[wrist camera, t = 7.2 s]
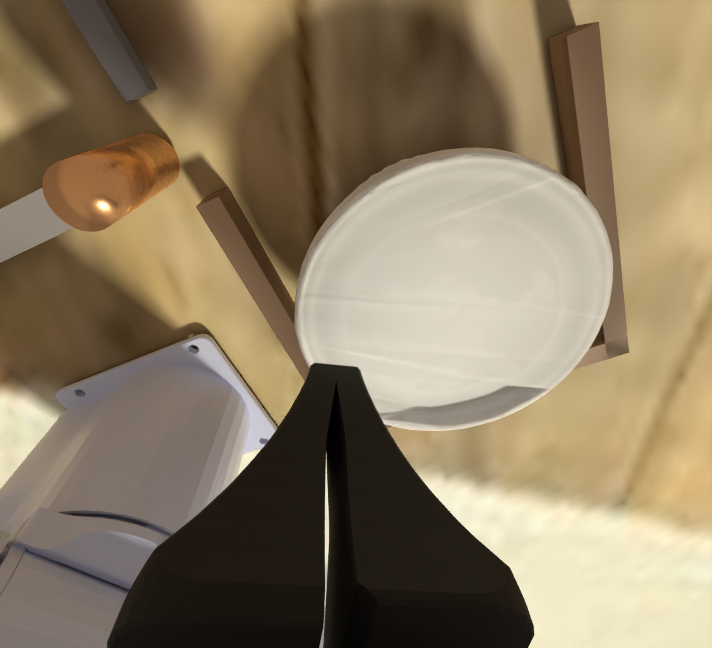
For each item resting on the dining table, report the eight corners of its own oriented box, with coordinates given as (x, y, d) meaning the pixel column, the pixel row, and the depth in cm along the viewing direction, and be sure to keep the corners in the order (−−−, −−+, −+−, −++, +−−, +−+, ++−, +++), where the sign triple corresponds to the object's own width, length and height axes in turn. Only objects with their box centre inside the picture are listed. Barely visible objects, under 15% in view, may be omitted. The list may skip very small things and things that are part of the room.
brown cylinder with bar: (-45, 287, 19) (-167, 356, 14) (-84, 248, 18) (-228, 309, 13) (190, 175, 17) (133, 215, 12) (159, 123, 16) (83, 147, 11)
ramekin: (350, 383, 23) (351, 460, 18) (263, 184, 17) (234, 225, 13) (559, 326, 21) (617, 396, 17) (538, 86, 16) (616, 93, 11)
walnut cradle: (342, 422, 24) (342, 441, 23) (206, 196, 17) (195, 206, 16) (612, 335, 21) (628, 352, 20) (576, 25, 15) (598, 21, 13)
